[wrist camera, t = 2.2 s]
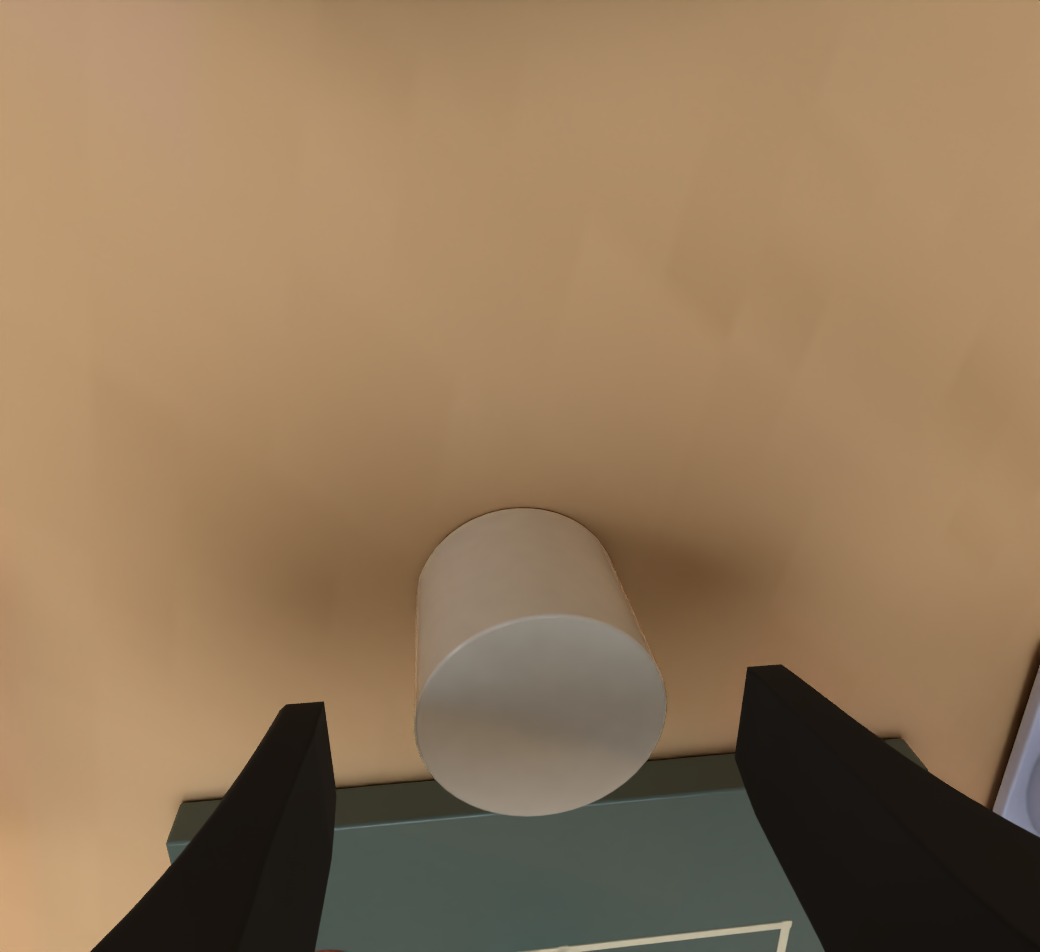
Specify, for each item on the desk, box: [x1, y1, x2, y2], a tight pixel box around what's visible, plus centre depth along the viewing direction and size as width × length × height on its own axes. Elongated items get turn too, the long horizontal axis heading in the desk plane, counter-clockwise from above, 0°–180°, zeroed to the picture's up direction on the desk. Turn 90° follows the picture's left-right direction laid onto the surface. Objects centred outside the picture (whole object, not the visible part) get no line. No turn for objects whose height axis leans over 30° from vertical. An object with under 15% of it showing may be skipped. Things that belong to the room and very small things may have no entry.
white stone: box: [414, 508, 667, 817], centre depth 15 cm, size 4×4×4 cm
